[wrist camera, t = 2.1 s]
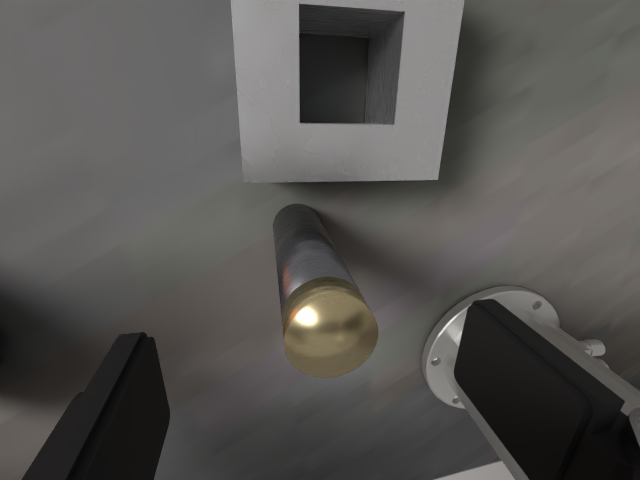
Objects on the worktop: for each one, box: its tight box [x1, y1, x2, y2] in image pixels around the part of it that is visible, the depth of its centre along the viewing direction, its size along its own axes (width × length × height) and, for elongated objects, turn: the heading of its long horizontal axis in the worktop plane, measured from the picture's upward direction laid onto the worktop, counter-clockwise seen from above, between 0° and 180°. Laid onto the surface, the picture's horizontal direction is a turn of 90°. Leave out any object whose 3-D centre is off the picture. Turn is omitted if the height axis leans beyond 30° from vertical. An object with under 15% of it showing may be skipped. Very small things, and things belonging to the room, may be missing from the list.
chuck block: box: [231, 0, 464, 183], centre depth 16 cm, size 10×10×5 cm
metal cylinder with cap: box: [273, 204, 378, 378], centre depth 16 cm, size 3×3×12 cm
